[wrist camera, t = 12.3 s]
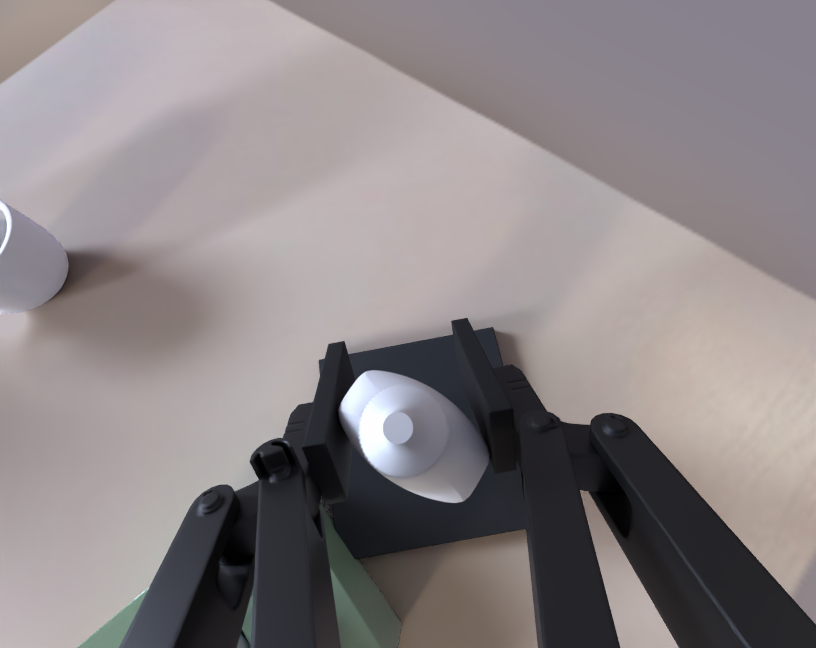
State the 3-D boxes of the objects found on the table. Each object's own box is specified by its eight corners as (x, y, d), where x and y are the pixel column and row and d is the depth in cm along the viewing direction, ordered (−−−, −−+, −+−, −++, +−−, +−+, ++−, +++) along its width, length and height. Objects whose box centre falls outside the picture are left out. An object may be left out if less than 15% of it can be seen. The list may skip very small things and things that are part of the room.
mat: (491, 329, 25) (493, 326, 24) (542, 523, 21) (545, 525, 20) (320, 361, 25) (318, 359, 24) (340, 559, 21) (337, 562, 20)
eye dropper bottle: (430, 371, 21) (424, 285, 9) (481, 465, 19) (552, 501, 7) (362, 407, 20) (267, 365, 9) (408, 506, 18) (363, 613, 7)
